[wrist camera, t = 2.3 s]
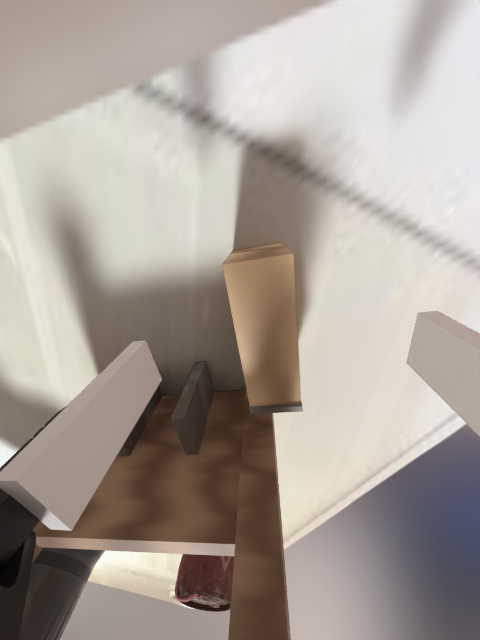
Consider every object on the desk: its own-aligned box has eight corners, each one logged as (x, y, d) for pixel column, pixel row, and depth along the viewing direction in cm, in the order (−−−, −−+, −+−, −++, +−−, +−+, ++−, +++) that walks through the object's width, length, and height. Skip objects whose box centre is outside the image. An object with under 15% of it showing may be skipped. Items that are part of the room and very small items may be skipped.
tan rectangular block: (251, 365, 25) (250, 413, 19) (232, 250, 19) (220, 265, 13) (291, 362, 24) (302, 411, 18) (282, 242, 19) (295, 254, 12)
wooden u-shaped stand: (113, 411, 30) (-96, 691, 12) (89, 371, 27) (-238, 668, 9) (272, 402, 27) (300, 761, 9) (265, 355, 24) (290, 763, 6)
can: (201, 447, 32) (166, 591, 20) (242, 449, 32) (232, 599, 19) (206, 470, 35) (177, 610, 23) (244, 472, 35) (236, 617, 22)
